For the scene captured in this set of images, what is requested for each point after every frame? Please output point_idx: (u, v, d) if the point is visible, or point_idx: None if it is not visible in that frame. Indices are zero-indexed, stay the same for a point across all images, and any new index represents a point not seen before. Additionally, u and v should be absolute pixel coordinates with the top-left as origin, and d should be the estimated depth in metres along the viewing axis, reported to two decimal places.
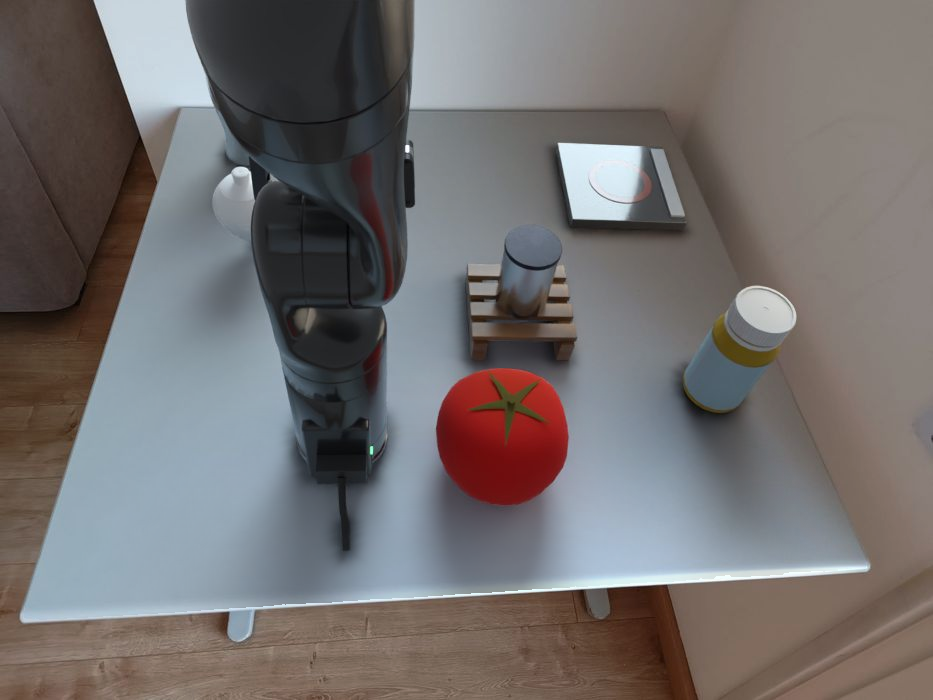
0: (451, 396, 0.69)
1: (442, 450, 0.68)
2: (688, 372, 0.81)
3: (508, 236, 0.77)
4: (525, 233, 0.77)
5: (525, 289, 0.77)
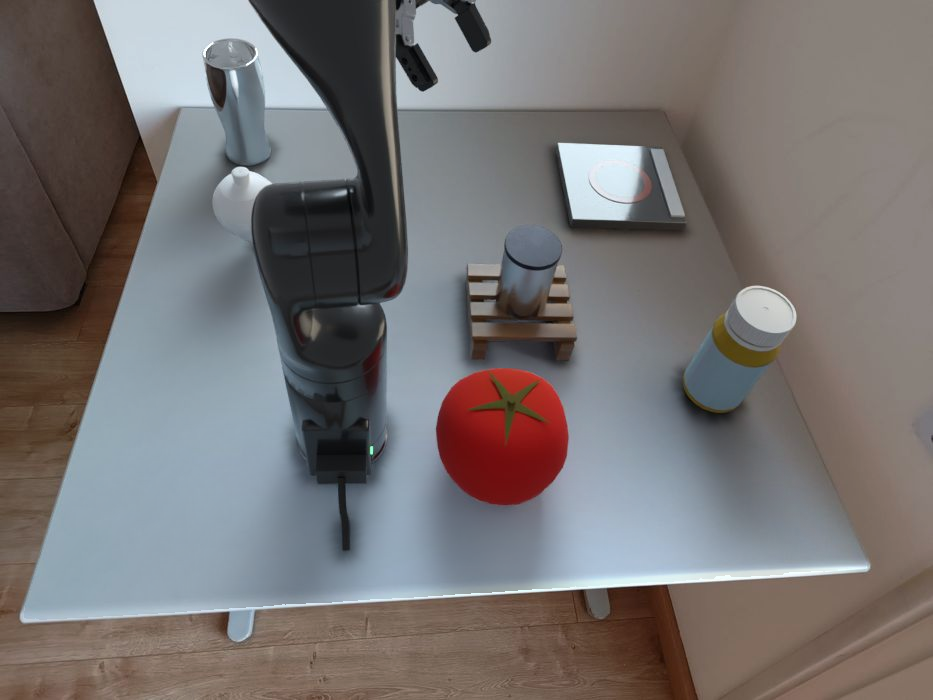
0: (451, 396, 0.69)
1: (442, 450, 0.68)
2: (688, 372, 0.81)
3: (508, 236, 0.77)
4: (525, 233, 0.77)
5: (525, 289, 0.77)
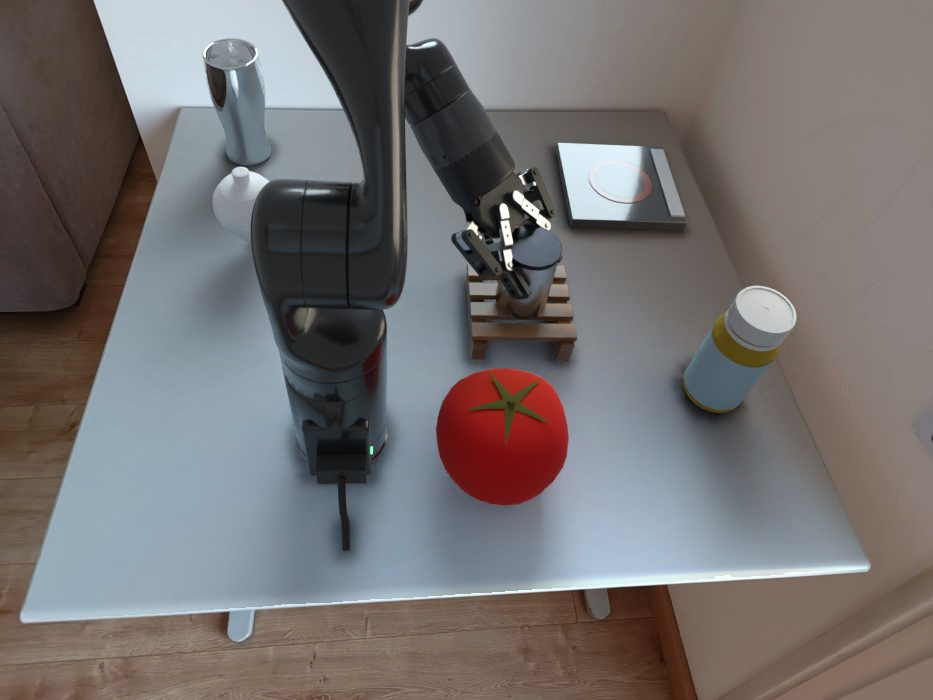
0: (451, 396, 0.69)
1: (442, 450, 0.68)
2: (688, 372, 0.81)
3: None
4: (525, 233, 0.77)
5: None
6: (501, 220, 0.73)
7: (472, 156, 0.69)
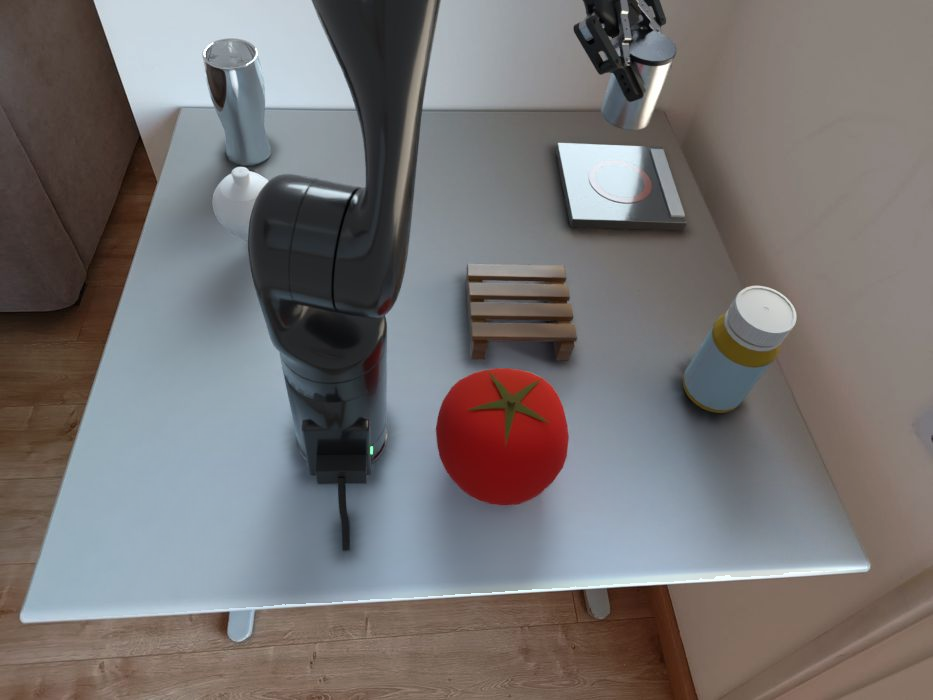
0: (451, 396, 0.69)
1: (442, 450, 0.68)
2: (688, 372, 0.81)
3: None
4: (639, 35, 0.78)
5: None
6: (621, 12, 0.75)
7: None
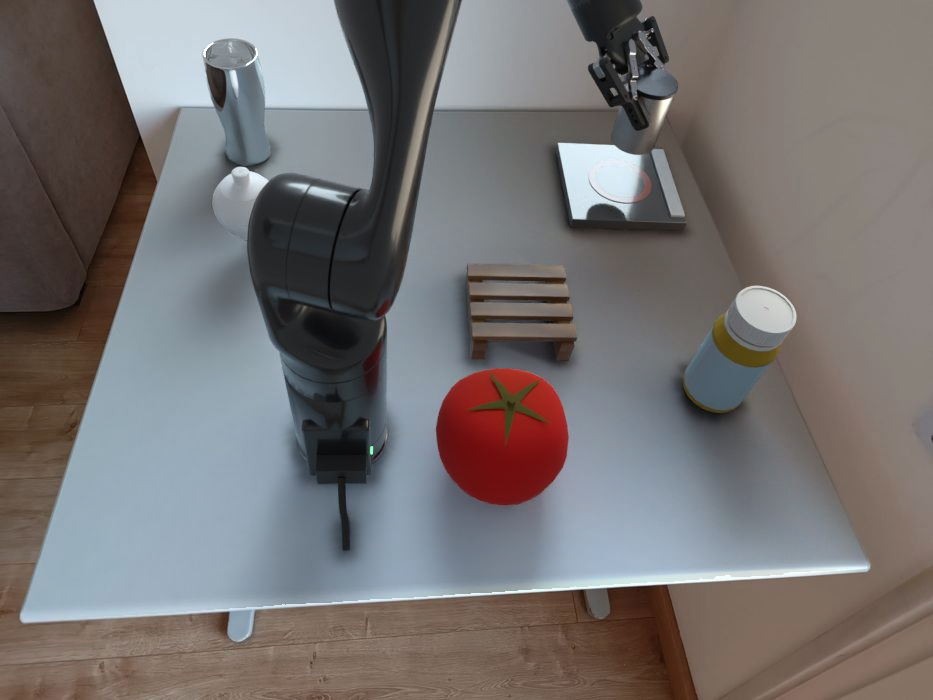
0: (451, 396, 0.69)
1: (442, 450, 0.68)
2: (688, 372, 0.81)
3: None
4: (645, 72, 0.89)
5: None
6: (630, 53, 0.85)
7: None
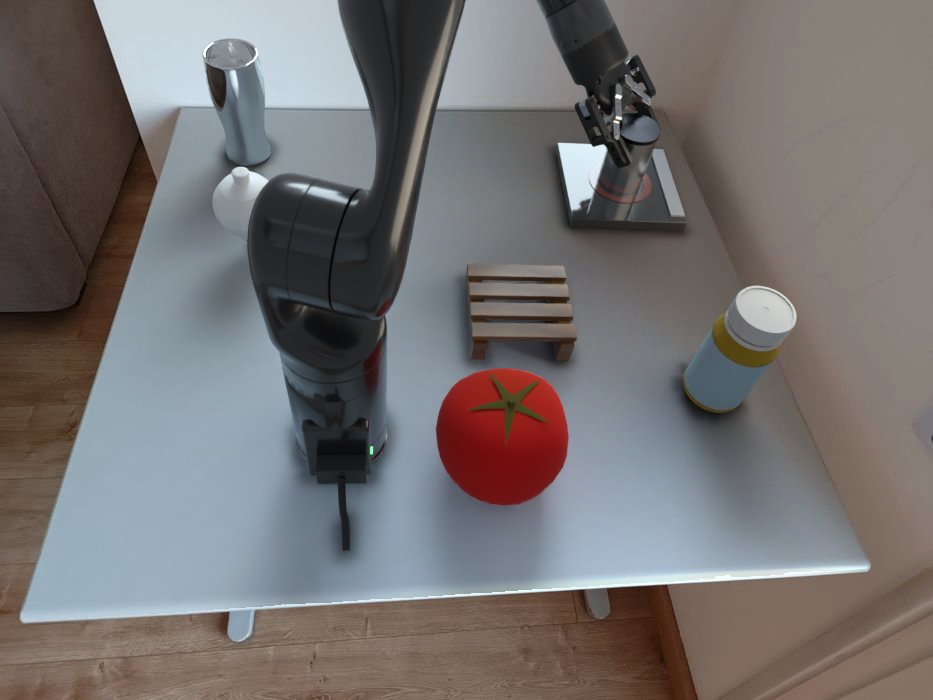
0: (451, 396, 0.69)
1: (442, 450, 0.68)
2: (688, 372, 0.81)
3: None
4: (629, 118, 0.95)
5: None
6: (615, 96, 0.90)
7: (598, 40, 0.86)
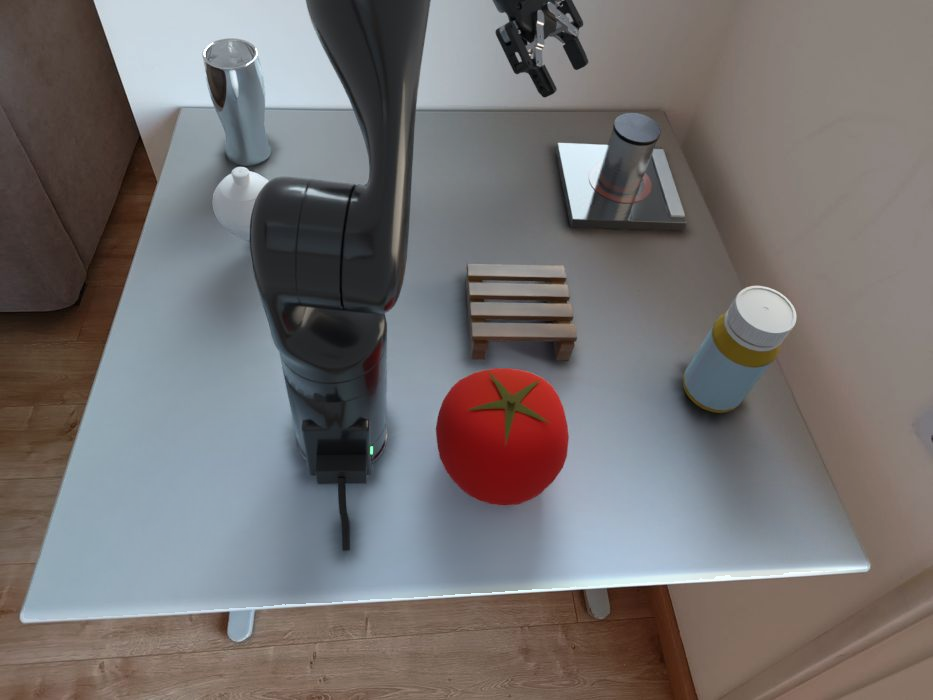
0: (451, 396, 0.69)
1: (442, 450, 0.68)
2: (688, 372, 0.81)
3: (616, 120, 0.94)
4: (629, 118, 0.95)
5: (629, 164, 0.95)
6: (537, 22, 0.90)
7: None
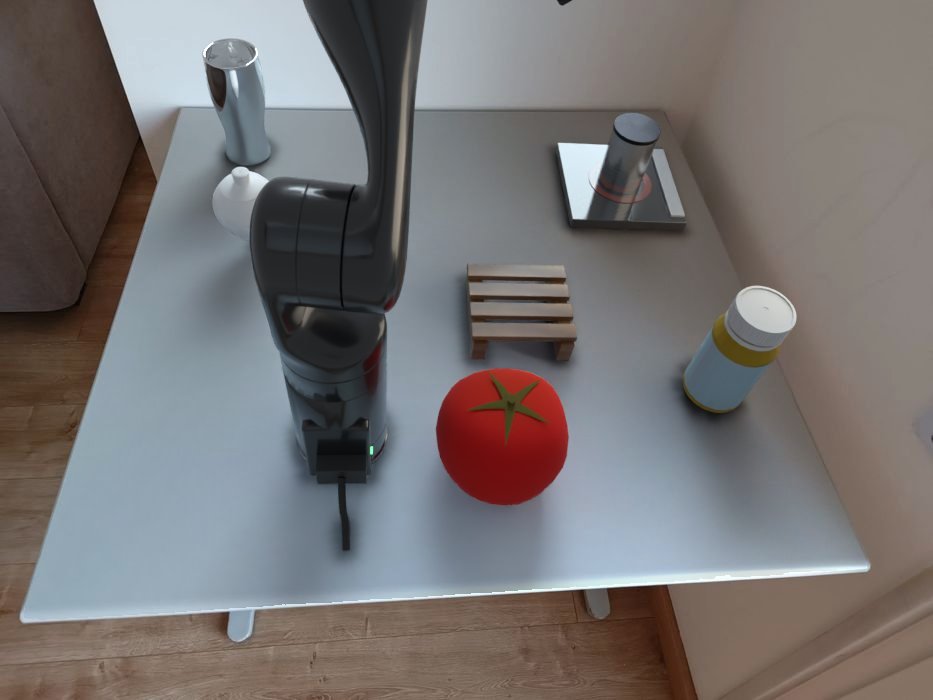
0: (451, 396, 0.69)
1: (442, 450, 0.68)
2: (688, 372, 0.81)
3: (616, 120, 0.94)
4: (629, 118, 0.95)
5: (629, 164, 0.95)
6: None
7: None
